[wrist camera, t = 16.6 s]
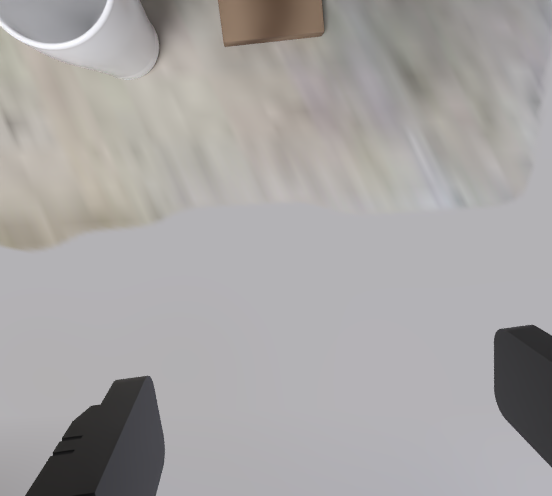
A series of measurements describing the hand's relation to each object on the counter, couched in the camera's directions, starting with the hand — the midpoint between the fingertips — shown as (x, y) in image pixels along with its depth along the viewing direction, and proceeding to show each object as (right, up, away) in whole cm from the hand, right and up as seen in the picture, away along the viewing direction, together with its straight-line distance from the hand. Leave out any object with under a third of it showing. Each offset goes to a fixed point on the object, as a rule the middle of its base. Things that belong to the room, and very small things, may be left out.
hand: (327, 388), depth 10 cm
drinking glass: (-13, +20, +26) cm, 35 cm away
